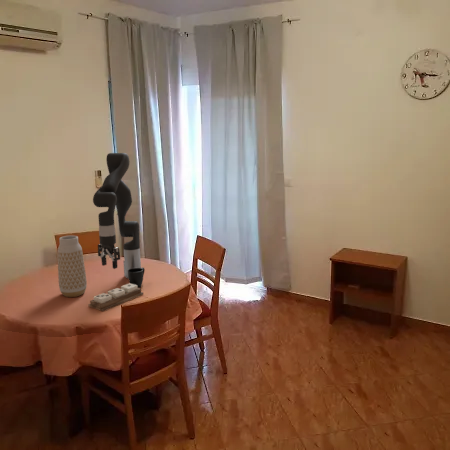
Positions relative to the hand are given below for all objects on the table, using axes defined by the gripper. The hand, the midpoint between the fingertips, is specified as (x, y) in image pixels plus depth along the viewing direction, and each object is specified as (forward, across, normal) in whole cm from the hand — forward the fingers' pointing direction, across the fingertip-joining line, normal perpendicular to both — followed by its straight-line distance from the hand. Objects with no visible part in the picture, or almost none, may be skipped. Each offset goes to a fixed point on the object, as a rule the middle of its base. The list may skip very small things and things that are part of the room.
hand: (109, 266), depth 203 cm
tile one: (+17, -4, +14) cm, 22 cm away
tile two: (+17, -3, +5) cm, 18 cm away
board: (+19, -3, +5) cm, 20 cm away
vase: (+20, -29, -3) cm, 35 cm away
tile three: (+17, -3, -3) cm, 18 cm away
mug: (+19, -11, +26) cm, 34 cm away
